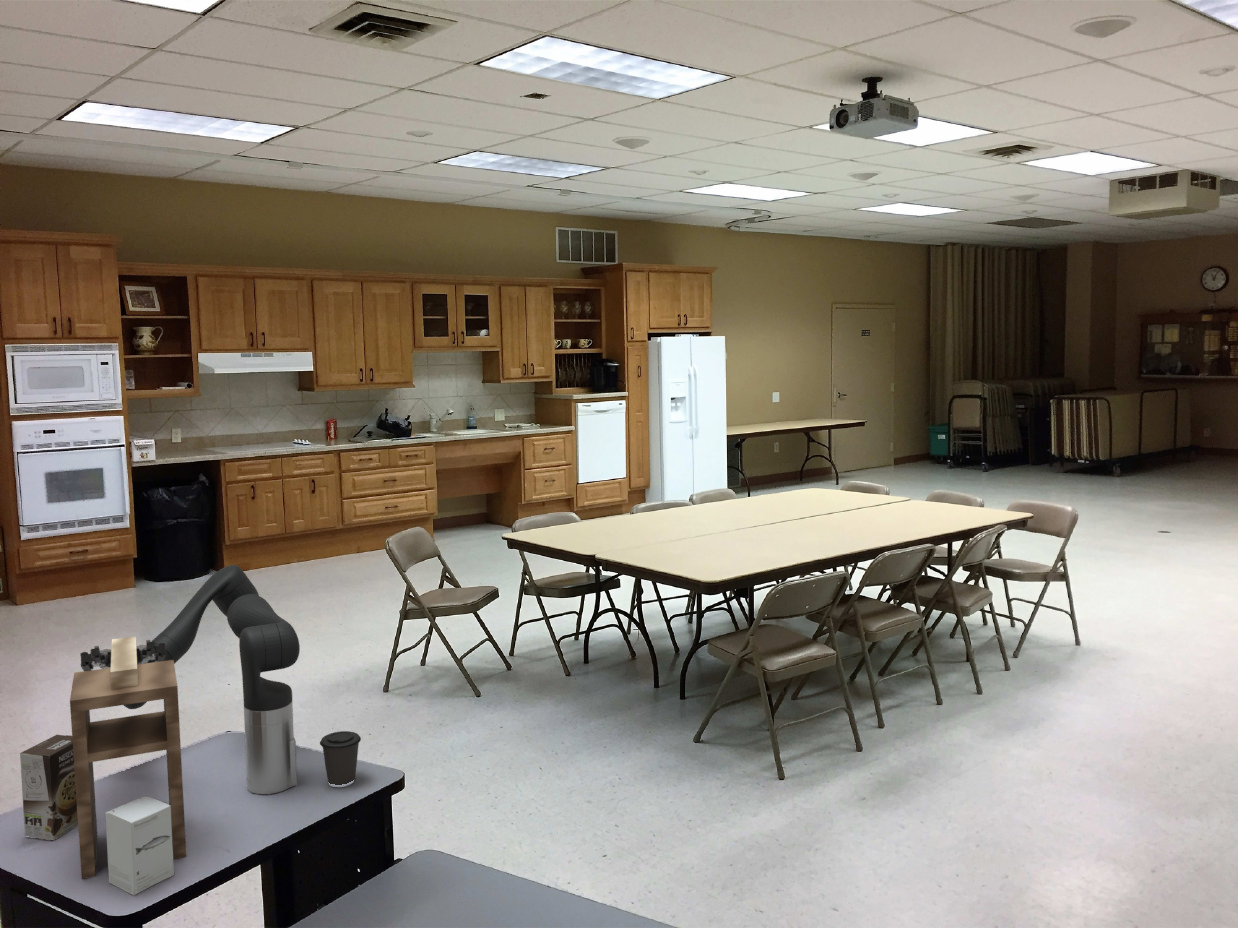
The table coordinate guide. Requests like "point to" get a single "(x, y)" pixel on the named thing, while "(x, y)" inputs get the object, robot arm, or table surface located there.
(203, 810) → the table surface
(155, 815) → the supplement box
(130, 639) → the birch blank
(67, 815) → the coffee box
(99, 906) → the table surface
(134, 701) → the walnut rack
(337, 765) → the coffee cup
